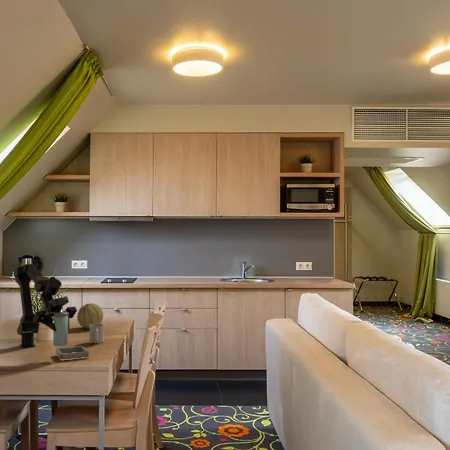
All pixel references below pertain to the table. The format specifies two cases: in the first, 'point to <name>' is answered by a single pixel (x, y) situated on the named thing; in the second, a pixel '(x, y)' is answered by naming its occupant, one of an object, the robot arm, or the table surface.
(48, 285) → the robot arm
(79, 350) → the grey square tray
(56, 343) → the canister
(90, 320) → the seamed olive ball
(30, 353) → the table surface
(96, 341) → the cup
